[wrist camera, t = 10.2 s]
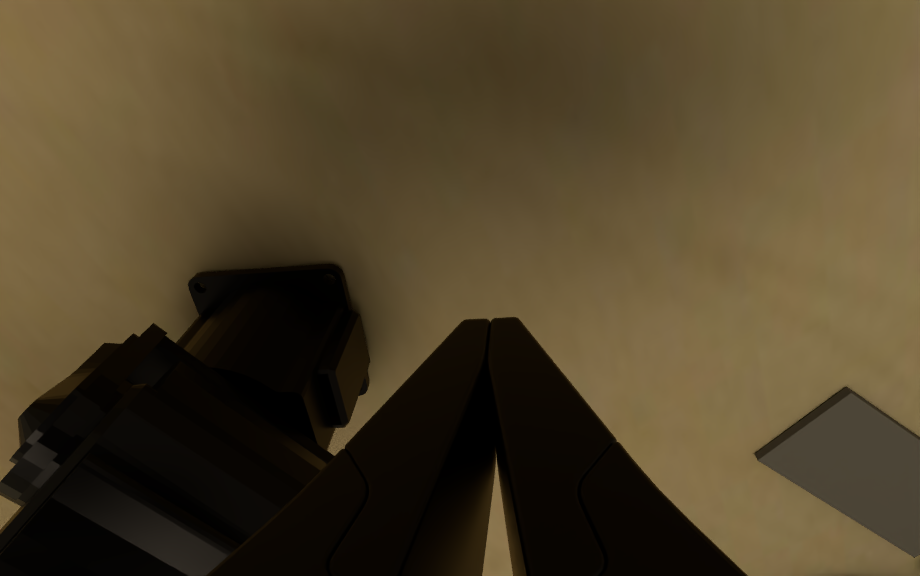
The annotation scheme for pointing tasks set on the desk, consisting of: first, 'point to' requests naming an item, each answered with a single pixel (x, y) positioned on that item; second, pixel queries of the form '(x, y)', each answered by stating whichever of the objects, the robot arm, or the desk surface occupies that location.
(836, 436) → the pads
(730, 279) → the desk surface
